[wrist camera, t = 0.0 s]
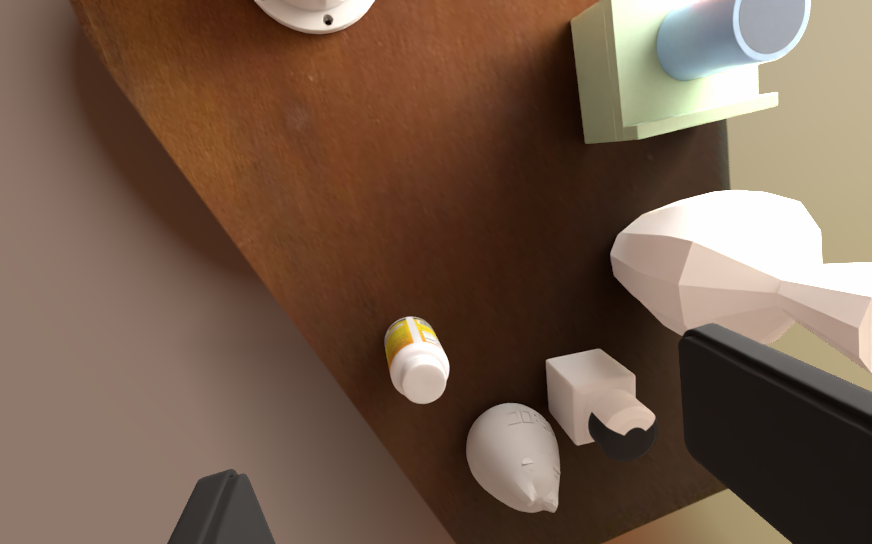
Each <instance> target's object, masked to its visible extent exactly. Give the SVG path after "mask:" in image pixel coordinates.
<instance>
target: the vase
mask: <svg viewBox="0 0 872 544" xmlns="http://www.w3.org/2000/svg"><path fill="white" fill-rule="evenodd" d="M610 257H611V263H612V269H613V275H614V276H615V277H616V278H617V280H618V281H619V282H620V283H621V284H622V285H623V286H624V287H625V288H626V289H627V290H628V291H629V292H630V293H631V294H632V295H633V296H634V297H635V298H637V299H638V300H639V301H640V302H641V303H642V304H643V305H644V306H645V307H646V308H647V309H648V310H649V311H650V312H651V313H652V314H653V315H654V316H655V317H656V318H657V319H658V320H659V321H660V322H661V323H662V324H663V325H664V326H666V327H668V328H669V329H671V330H673V331H674V332H676V333H678V334H680V335H681V336H683V334H684V332H685V331H687V330H689V329H692V328H696V327H699V326H702V325H705V324H709V323H715V324H718V325H721V326H723V327H725V328H727V329H730V330H732V331H734V332H737V333H739V334H741V335H743V336H746V337H748V338H750V339H752V340H755V341H757V342H759V343H762V344H764V345H767V344H769V343H772V342H774V341H777V340H778V339H779V338H780V337H781V336H782V335H783V334H784V333H785V332H786V331H787V330H788V329H789V328H790V327H791V326H792V325H793V324H794V323H795V322H798V323H799V324H801V325H802V326H803V327H805V328H806V329H808V330H810V331H811V332H812V333H813V334H815V335H817V336H818V337H819V338H821V339H822V340H824V341H825V342H826V343H828V344H829V345H831V346H832V347H834V348H835V349H836V350H838V351H839V352H841V353H842V354H843V355H845V356H846V357H848V358H849V359H851V360H852V361H853V362H855V363H856V364H858V365H859V366H861V367H862V368H864V369H865V370H866V371H868V372H869V373H871V374H872V262H871V263H846V264H822V247H821V231H820V229H819V228H818V226H817V225H816V223H815V222H814V221H813V219H812V218H811V216H810V215H809V214H808V212H807V211H806V209H805V208H804V206H803V205H802V204H801V202H799V201H796V200H791V199H788V198H784V197H781V196H776V195H773V194H769V193H766V192H752V191H738V190H732V191H719V192H711V193H707V194H704V195H700V196H696V197H692V198H688V199H684V200H680V201H677V202H674V203H672V204H669V205H667V206H664V207H661V208H659V209H656V210H653V211H650V212H648V213H645V214H642V215H641V216H640V217H639V218H637V219H636V220H635V221H633V222H632V223H631V224H630V225H629V226H627V227H626V228H625V229H624V230H623V231H622V232H620V233H619V234H618V235H617V237H616V240H615V242H614V245H613V247H612V250H611V253H610Z"/></svg>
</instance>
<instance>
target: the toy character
mask: <svg viewBox="0 0 872 544" xmlns="http://www.w3.org/2000/svg"><path fill="white" fill-rule="evenodd" d="M466 454H467V460H468V463H469V466H470V470H471V472H472V474H473V476H474V477H475V479H476V480H477V481H478V483H479V484H480V485H481V486H482V487H483V488H484V489H485V490H486V491H487V492H489V493H490V494H491V495H493V496H494V497H495V498H497V499H498V500H500V501H501V502H503V503H505V504H506V505H508V506H510V507H512V508H514V509H516V510H519V511H524V512H530V513H533V512H539V511H541V510H547V511H550V512H554V513H555V511H556V509H557V507H558V490H559V480H560V475H561V473H560V460H559V451H558V444H557V440H556V437H555V435H554V432H553V430H552V428H551V426H550V424H549V423H548V422H547V421H546V420H545V418H543V417H542V416H541V415H540V414H539V413H538V412H536V411H535V410H533V409H531V408H529V407H527V406H525V405H522V404H517V403H505V404H500V405H497V406H495V407H492V408H490V409H489V410H487V411H485V412H484V413H483V414H482V415H480V416H479V417H478V418H477V420H476V421H475V422H474V423H473V425H472V427H471V429H470V431H469V434H468V437H467V446H466Z"/></svg>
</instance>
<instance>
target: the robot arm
mask: <svg viewBox="0 0 872 544" xmlns="http://www.w3.org/2000/svg"><path fill="white" fill-rule="evenodd" d="M254 1H255V3H256V4H257V5H258V6H259V7H260V8H261V9H262V10H263V11H264V12H265V13H266V14H268V15H269V16H270V17H272V18H273V19H275V20H276V21H277V22H279V23H281V24H283V25H285V26H287V27H289V28H291V29H293V30H297V31H300V32H304V33H311V34H326V33H333V32H336V31H339V30H342V29H345V28H347V27H349V26H350V25H352V24H353V23H355V22H357V21H358V20H359V19H360V18H361V17H362V16H363V15H364V14H365V13H366V12H367V11H368V10H369V8H370V7H371V5H372V4H373V2H374V1H375V0H264V1H263V0H254ZM327 20H329V21H331V24H330V25H326V24H325V22H326V21H327ZM678 349H679V364H680V378H681V393H682V407H683V422H684V437H685V444H686V447H687V449H688V451H689V453H690V454H691V455H692V457H693V458H694V459H695V460H696V461H698V462H699V463H700V464H701V465H702V466H703V467H704V468H706V469H707V470H708V471H709V472H710V473H711V474H713V475H714V476H715V477H716V478H717V479H718V480H720V481H721V482H722V483H723V484H724V485H725V486H726V487H728V488H729V489H730V490H731V491H732V492H733V493H735V494H736V495H737V496H738V497H739V498H740V499H742V500H743V501H744V502H745V503H746V504H747V505H749V506H750V507H751V508H752V509H753V510H755V512H757V513H758V514H759V515H760V516H761V517H762V518H764V519H765V520H766V521H767V522H768V523H769V524H771V525H772V526H773V527H774V528H775V529H776V530H777V531H779V532H780V533H781V534H782V535H783V536H784V537H786V538H787V539H788V540H789V541H790V542H791V543H793V544H872V392H871V391H868V390H866V389H864V388H862V387H859V386H857V385H855V384H852V383H850V382H848V381H846V380H843V379H841V378H839V377H837V376H834V375H832V374H830V373H827V372H825V371H823V370H820V369H818V368H816V367H814V366H812V365H809V364H807V363H805V362H802V361H800V360H798V359H796V358H793V357H791V356H789V355H787V354H784V353H782V352H780V351H777V350H775V349H773V348H771V347H768V346H766V345H764V344H762V343H759V342H757V341H755V340H752V339H750V338H748V337H746V336H743V335H741V334H739V333H737V332H734V331H732V330H730V329H727V328H725V327H723V326H721V325H718V324H715V323H709V324H705V325H702V326H699V327H696V328H692V329H689V330H687V331H685V332H684V334H683V339H681V340H680V341H679V345H678ZM167 544H275V541H274V539H273V537H272V534H271V532H270V529H269V527H268V524H267V522H266V520H265V517H264V515H263V512H262V510H261V507H260V505H259V503H258V500H257V498H256V495H255V493H254V491H253V488H252V486H251V483H250V481H249V479H248V477H247V475H246V474H240V475H238V474H237V473H236V471H235V470H233V469H229V470H226V471H223V472H220V473H217V474H213V475H210V476H206V477H203V478H201V479H200V480H199V481H198V482H197V484H196V486H195V488H194V490H193V492H192V494H191V496H190V498H189V500H188V502H187V505H186V506H185V509H184V510H183V513H182V515H181V517H180V519H179V521H178V523H177V525H176V527H175V529H174V531H173V533H172V535H171V537H170V539H169V542H168V543H167Z"/></svg>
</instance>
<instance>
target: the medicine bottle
mask: <svg viewBox="0 0 872 544" xmlns="http://www.w3.org/2000/svg"><path fill="white" fill-rule="evenodd" d="M546 376H547V391H548V407H549V412H550V413H551V414H552V415H553V417H554V418H555V419H556V420H557V422H558V423H559V424H560V426H561V427H562V428H563V429H564V431H565V432H566V433H567V434H568V436H569V437H570V438H571V439H572V441H573V442H574V443H575V444H576V445H582V444H587V443H591V442H596V443H597V444H598V446H599V447H600V448H601V449H602V450H603V451H604V452H605V454H606V455H607V456H608V457H610V458H611V459H613V460H616V461H621V462H623V461H633V460H636V459H638V458H640V457H642V456H643V455H645V454H646V453H647V452H648V451H649V450H650V449H651V448H652V446H653V445H654V443H655V441H656V438H657V435H658V422H657V419H656V417H655V415H654V414H653V413H652V412H651V411H650V410H649V409H648V408H647V407H645V406H644V405H643V404H642V403H641V402H639V401H638V400H637V399H636V398H635V375H634V374H633V373H632V372H630V371H629V370H628V369H626V368H625V367H624V366H622V365H621V364H620V363H618V362H617V361H616V360H614V359H613V358H612V357H610V356H609V355H608V354H606V353H605V352H604V351H602V350H601V349H594V350H589V351H584V352H579V353H575V354H570V355H565V356H560V357H555V358H551V359H547V360H546Z"/></svg>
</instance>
